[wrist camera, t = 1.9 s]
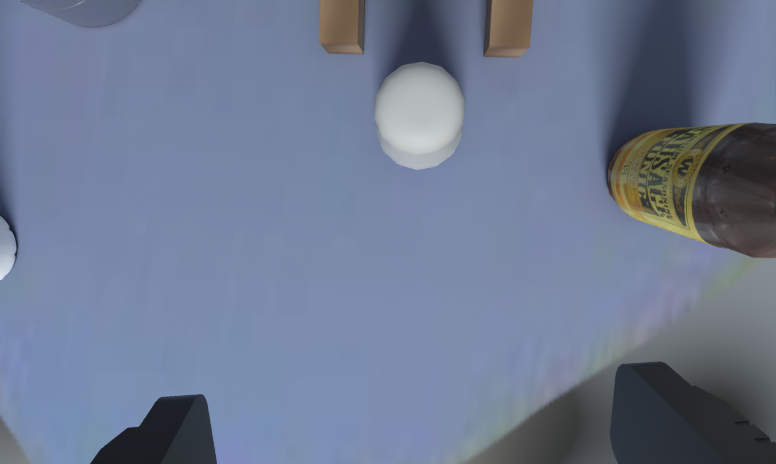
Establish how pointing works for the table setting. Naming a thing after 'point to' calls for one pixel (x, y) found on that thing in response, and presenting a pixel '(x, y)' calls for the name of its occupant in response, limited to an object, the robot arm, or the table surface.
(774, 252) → the sauce bottle
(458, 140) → the salt shaker
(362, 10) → the slot
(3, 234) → the water bottle
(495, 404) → the table surface
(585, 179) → the table surface
